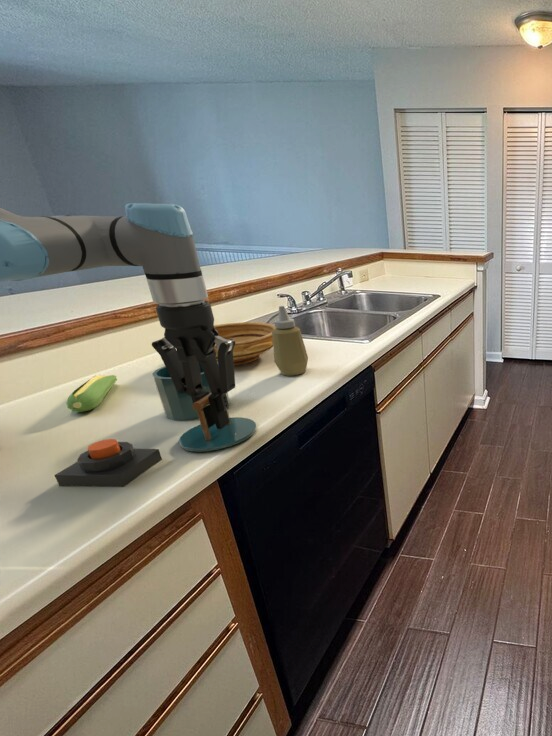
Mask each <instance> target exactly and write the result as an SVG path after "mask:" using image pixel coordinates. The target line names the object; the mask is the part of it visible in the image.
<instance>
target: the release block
mask: <svg viewBox="0 0 552 736" xmlns="http://www.w3.org/2000/svg"><path fill="white" fill-rule="evenodd" d="M118 444H119V446H120V449H121V450H120V451H119V452H118V453H116V454H114V455H111V456H108V457H105V458H100V459H92V458H91V456H90V454H89V452H88V449H87V450H86V451H84V452H81V454H79V456H78V458H77V459H76V462H74V463H72V464H70V465H69V466H67V467H66V468H64V469H61V470H60V471H59V472H57V473H56V474H54V477H55V480H56V482H57V484H58V486H59V487H85V488H86V487H89V488H91V487H92V488H125V487H127V486H128V485H129V484H130V483H132V482H133V481H134V480H136V479H137V478H138V477H140V476H142V474H144V473H146V472H147V471H148V470H150V469H152V467H154V466H155V465H157V464H158V463H159V462H160V461H162V460H163V458H162V455H161V452H160V449H159V448H134V445H133V444H132V443H131V442H128V441H118Z"/></svg>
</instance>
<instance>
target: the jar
mask: <svg viewBox="0 0 552 736" xmlns="http://www.w3.org/2000/svg"><path fill="white" fill-rule="evenodd" d="M217 363H218V362H217ZM199 367H200V372H201V377H202V383H203V387H206V389H205V390H203V391H202V392H204V391H209V393H211V391H210V388H209V385H208V383H207V380H206V377H205V374H204V372H203V369H202V366H201V364H200V362H199ZM151 375H152V378H153V382H154V385H155V388H156V390H157V393H158V397H159V400H160V403H161V405H162V409H163V412H164V414H165V417H166V418H167V419H168V420H171V421H175V422H187V421H195V420H200V419H199V416H198V412H197V411H196V410H194V409H193V407H192V405H193V401H192V398H191V396H190V395H189V394H187V393H184V392H183V393H179V392H178V391H177V389H176V387H175V385H174V383H173V381H172V379H171V377H170V375H169V373H168V371H167V368H166V366H165V365H164V366H161V367H159V368H158V369H155V370H154V371H153V372H152V373H151ZM226 396H227V400H228V404H229V406H230V405H231V403H230V402H231V401H230V398H229V397H230V396H229V392H227V393H226Z"/></svg>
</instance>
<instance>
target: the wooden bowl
mask: <svg viewBox="0 0 552 736" xmlns="http://www.w3.org/2000/svg"><path fill="white" fill-rule="evenodd" d="M214 328H215V329H216V331H217V332H218V333H219V336H220V337H222V338H224V339H226V340H229V339H233V340H234V341H235V346H234V349H233V362H234V366H237V365H239V366H240V365H244V364H248V363H251V362H254V361H256V360H258V359H259V358H260V355H262V354H264V353H266V352H267V351H270V350H271V349H272V348H273V337H272V331H273V330H274V329H275V328H276V327H275V324H272V323H267V322H256V321H255V322H253V321H243V322H230V323H221V324H214ZM216 347H217V345H216V344H215V346H214V349H215V352H216V360H217V362H218V350H216Z"/></svg>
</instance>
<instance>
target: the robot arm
mask: <svg viewBox="0 0 552 736" xmlns="http://www.w3.org/2000/svg"><path fill="white" fill-rule="evenodd" d="M124 210H125V216H123V215H122V216H105V215H82V214H75V213H73V214H61V215H52V216H45V215H41V216H23V215H19V214H15V213H13V212H11V211H8V210H6V209H4V208H2V207H0V282H6V281H12V282H19V281H26V280H32V279H35V278H40V277H45V276H47V277H48V276H51V275H57V274H63V273H67V272H68V273H70V272H76V271H77V272H78V271H84V270H90V269H95V268H96V269H97V268H103V267H104V268H105V267H129V266H130V267H142V269H143V272H144V275H145V279H146V282H147V285H148V289H149V293H150V296H151V299H152V302H153V303H155V304H157V305H156V307H155V311H156V315H157V318H158V322H159V324H160V326H161V328H164V333H163V337H162V338H160V339H157V340H155V341H152V342H151V347H152V348H153V349H154V350H155V351H156V352H157V354H159V356H160V357H161V360H162V362H163V364H164V366H166V368H167V371H168V373H169V375H170V377H171V379H172V381H173V383H174V385H175V387H176V389H177V391H178V392H179V393H183V392H184V393H187V394H189V395H190V396H191V398H192V401H193V403H195V402H196V401H198V400H200V399H201V398H203V397H204V396H206V395H208V394H209V391H204V392H202V391H203V390H205V389H206V387H203V383H202V377H201V372H200V367H199V362H200V364H201V366H202V369H203V372H204V374H205V377H206V380H207V383H208V385H209V388H210V391H211V393H212V394H211V395H209V397H208V399H209V402H210V405H208V406H206V407H205V408H203V411H204V414H205V418H206V421H207V425H208V428H210V427H211V426H213V425H214V424H216V427H217V429H222V428H223V427H224V426H225V425H227V424H228V423H229V422H230V421H229V418H230V417H229V418H228V414H229V413H228V414H227V410H228V409H229V407H230V405H229V404H228V400H227V396H226V393H230V392H231V391H232V390H234V389H235V388H236V377H235V376H236V375H235V365H234V362H233V349H234V346H235V341H234V340H233V339H229V340H226V339H224V338H222V337H220V336H219V333H218V332H217V331H216V329H215V328H214V325H215V316H214V313H213V309H212V305H211V303H210V302H209V301H208V300H207V299H208V298H209V293H208V291H207V286H206V282H205V278H204V275H203V272H202V271H203V270H202V268H201V265H200V261H199V255H198V252H197V248H196V243H195V239H194V236H195V234H194V232H193V231H192V228H191V224H190V221H189V218H188V216H187V213H186V210H185V209H184V207H182V206H180V205H179V204H176V203H173V204H172V203H141V202H139V203H136V202H135V203H134V202H132V203H131V202H130V203H127V204H125V207H124ZM215 344H216V345H217V347H216V350H218V363H217V360H216V352H215V349H214V346H215ZM226 409H227V410H226Z"/></svg>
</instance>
